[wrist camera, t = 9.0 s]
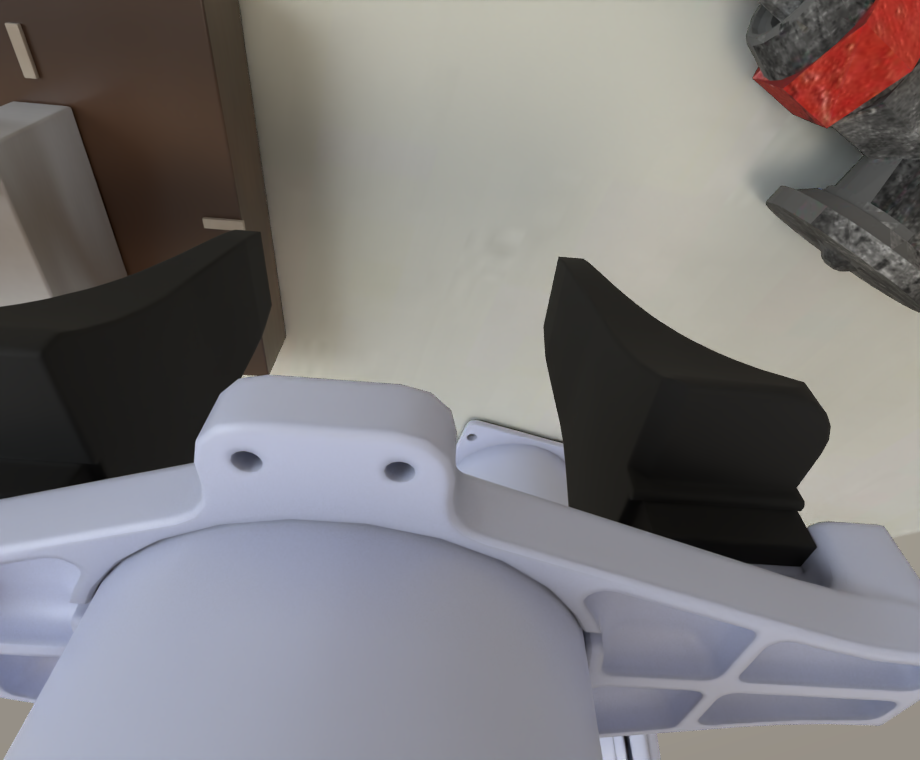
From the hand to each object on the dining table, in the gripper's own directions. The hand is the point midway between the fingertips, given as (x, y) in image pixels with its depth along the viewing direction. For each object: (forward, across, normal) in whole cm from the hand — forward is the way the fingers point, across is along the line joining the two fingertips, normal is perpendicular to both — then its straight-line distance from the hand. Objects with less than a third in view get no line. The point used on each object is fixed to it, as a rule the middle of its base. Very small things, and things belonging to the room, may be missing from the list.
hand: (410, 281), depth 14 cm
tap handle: (+6, +12, +2) cm, 14 cm away
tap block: (+9, +12, +2) cm, 15 cm away
